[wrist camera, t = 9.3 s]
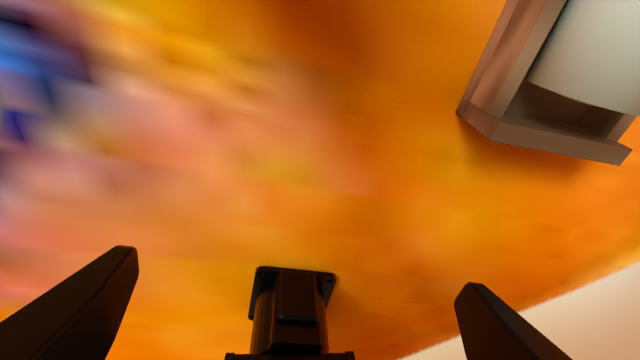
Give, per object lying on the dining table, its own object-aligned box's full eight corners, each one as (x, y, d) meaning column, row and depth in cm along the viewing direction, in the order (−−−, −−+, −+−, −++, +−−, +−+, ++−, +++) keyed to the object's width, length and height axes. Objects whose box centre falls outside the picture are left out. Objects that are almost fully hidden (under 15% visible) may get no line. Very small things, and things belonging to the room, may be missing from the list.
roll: (590, 96, 18) (668, 129, 13) (506, 74, 18) (558, 101, 13) (719, -95, 13) (894, -135, 9) (611, -127, 13) (737, -184, 9)
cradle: (566, 135, 21) (619, 166, 17) (454, 112, 19) (488, 140, 16) (770, -163, 13) (930, -211, 10) (615, -235, 12) (739, -318, 9)
